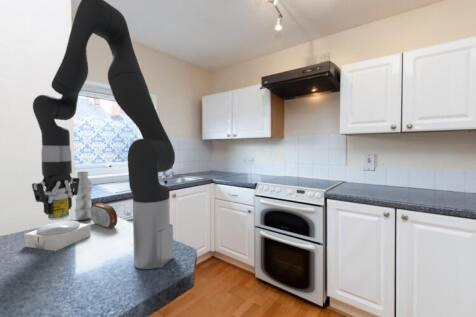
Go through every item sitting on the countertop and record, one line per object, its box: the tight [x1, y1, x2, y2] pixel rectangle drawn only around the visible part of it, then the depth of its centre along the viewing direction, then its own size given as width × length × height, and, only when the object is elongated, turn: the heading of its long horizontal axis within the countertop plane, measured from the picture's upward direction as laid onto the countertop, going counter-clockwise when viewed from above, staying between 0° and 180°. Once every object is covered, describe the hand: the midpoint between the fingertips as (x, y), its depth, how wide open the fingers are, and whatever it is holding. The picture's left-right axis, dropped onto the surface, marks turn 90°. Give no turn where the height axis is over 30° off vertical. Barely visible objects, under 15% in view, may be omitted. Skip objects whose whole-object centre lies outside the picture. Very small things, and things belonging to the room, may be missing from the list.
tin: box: [90, 202, 118, 229], centre depth 89 cm, size 15×3×8 cm, turn 58°
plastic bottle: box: [74, 171, 93, 221], centre depth 96 cm, size 6×7×20 cm
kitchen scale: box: [24, 220, 91, 252], centre depth 75 cm, size 12×12×5 cm
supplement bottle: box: [47, 188, 70, 221], centre depth 74 cm, size 5×5×10 cm
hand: (58, 211), depth 75 cm, fingers closed on supplement bottle, 5 cm apart
